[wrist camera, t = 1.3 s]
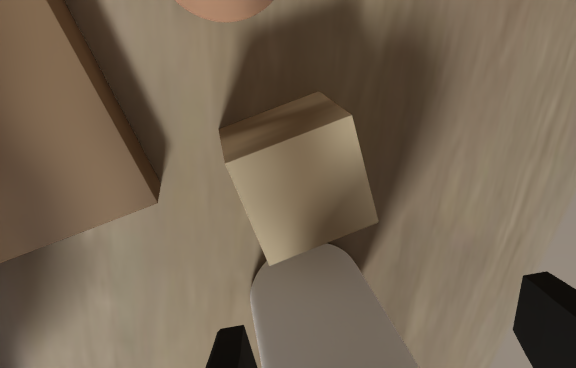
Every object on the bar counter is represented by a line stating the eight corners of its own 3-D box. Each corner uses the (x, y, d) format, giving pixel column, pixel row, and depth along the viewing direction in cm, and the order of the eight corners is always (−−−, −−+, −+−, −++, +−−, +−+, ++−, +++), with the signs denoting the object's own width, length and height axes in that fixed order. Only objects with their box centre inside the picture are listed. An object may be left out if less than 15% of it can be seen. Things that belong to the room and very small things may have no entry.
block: (254, 214, 21) (269, 266, 17) (218, 128, 19) (225, 163, 15) (343, 180, 21) (378, 222, 17) (318, 90, 19) (352, 115, 15)
